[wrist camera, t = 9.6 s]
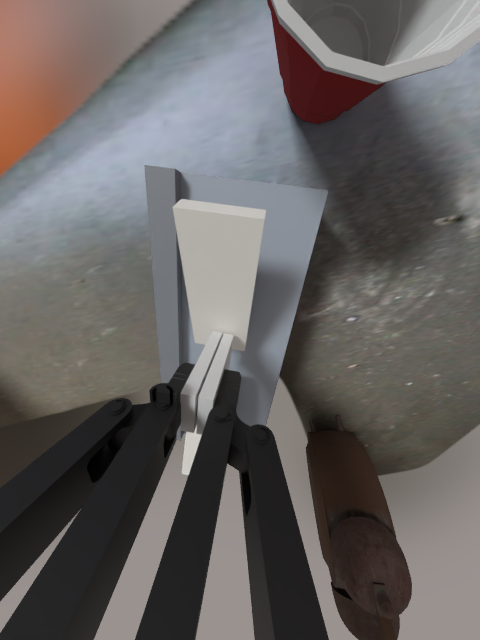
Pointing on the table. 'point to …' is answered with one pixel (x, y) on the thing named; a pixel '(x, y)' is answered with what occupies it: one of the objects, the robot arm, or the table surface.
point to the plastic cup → (363, 47)
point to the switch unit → (270, 287)
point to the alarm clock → (357, 535)
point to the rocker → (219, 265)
